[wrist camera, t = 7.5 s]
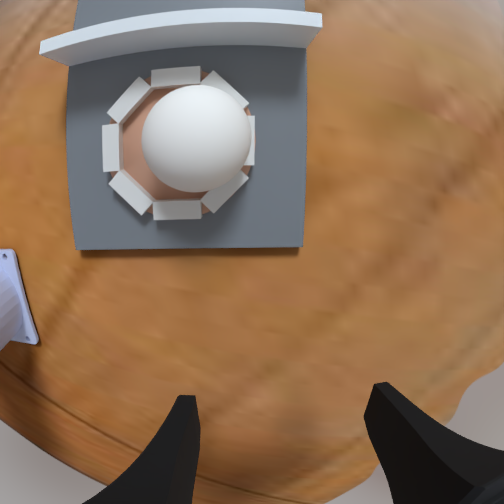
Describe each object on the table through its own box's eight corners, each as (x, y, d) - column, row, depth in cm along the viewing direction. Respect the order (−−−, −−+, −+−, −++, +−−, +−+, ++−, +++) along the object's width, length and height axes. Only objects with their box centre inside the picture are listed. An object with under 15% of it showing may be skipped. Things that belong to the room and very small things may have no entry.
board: (81, 246, 18) (48, 270, 14) (101, -67, 11) (81, -95, 7) (300, 243, 19) (317, 269, 15) (295, -83, 11) (306, -117, 7)
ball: (132, 193, 15) (165, 206, 11) (129, 96, 13) (161, 70, 9) (218, 183, 18) (274, 191, 14) (216, 96, 16) (273, 80, 12)
